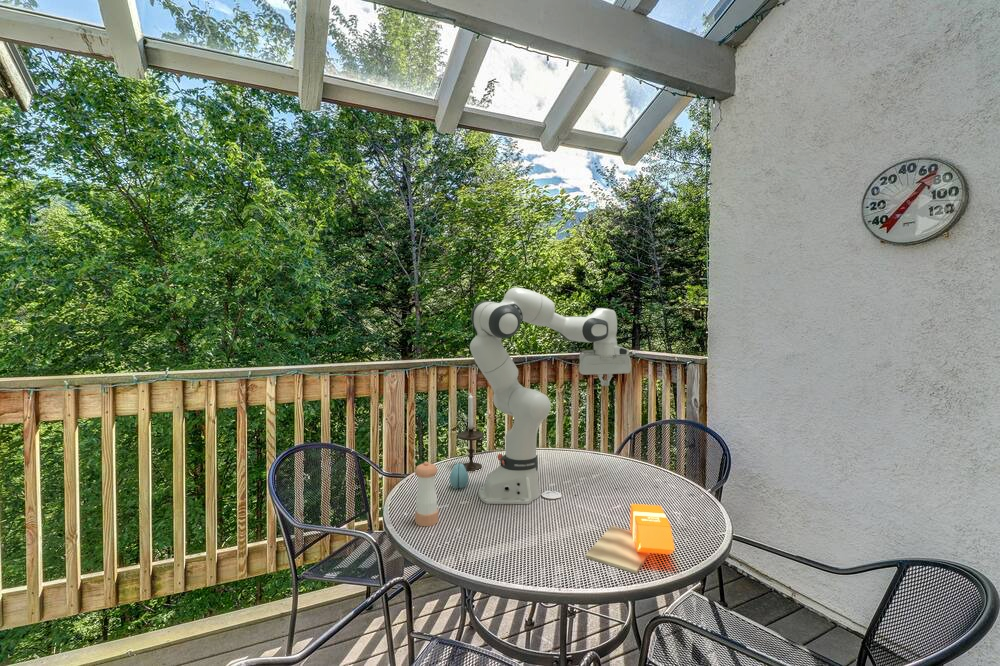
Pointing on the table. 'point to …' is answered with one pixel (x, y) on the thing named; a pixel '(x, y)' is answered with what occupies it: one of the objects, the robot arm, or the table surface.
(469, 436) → the candlestick
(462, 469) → the toy flower bud
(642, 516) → the orange juice
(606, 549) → the board
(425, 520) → the pepper shaker
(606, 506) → the table surface
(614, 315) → the robot arm
